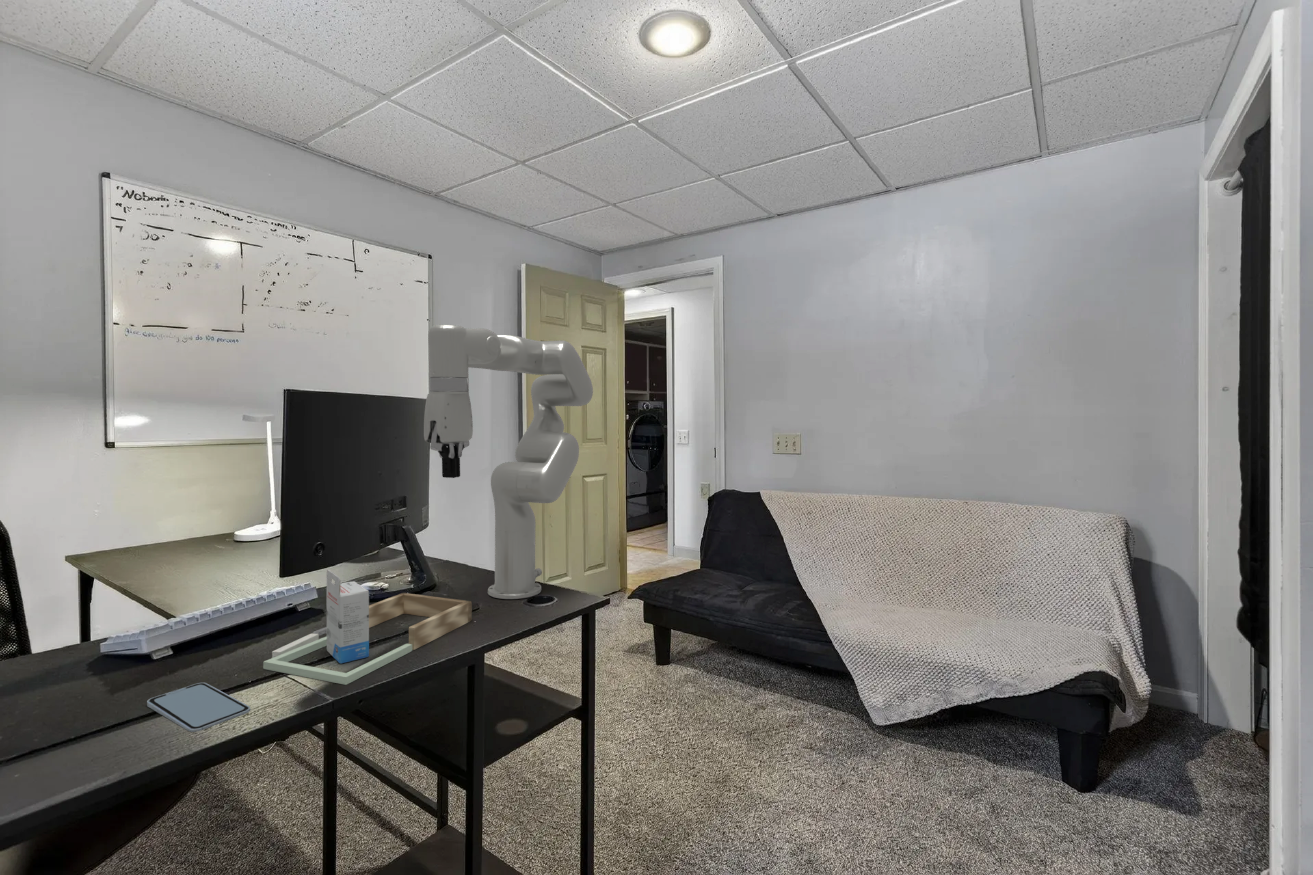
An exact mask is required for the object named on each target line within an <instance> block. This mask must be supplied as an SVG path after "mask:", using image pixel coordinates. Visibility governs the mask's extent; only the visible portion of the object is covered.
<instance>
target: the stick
mask: <svg viewBox="0 0 1313 875" xmlns="http://www.w3.org/2000/svg"><path fill="white" fill-rule="evenodd" d="M319 639H320V636H319V634H313V632H312V633H309V634H307V635H305V636H303V637H300V638H299V639H298V638H297V639H296V640H294V641H291V642H290V643H288V644H286V645H283V646H281V647H279V648H277V649H275V650H273V651H271V658H274V657H276V656H279V655H281V654H284V653H286V652H289V651H291V650H294V649H296V648H299V647H301V646H304V645H306V644H309V643H311V642H314V641H316V640H319Z"/></svg>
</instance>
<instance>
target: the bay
mask: <svg viewBox="0 0 1313 875" xmlns="http://www.w3.org/2000/svg"><path fill="white" fill-rule="evenodd" d="M325 647H327V635H326V636H324V637H321V638H319V640H316V641H314V642H311V643H309V644H306V645H304V646H301V647H299V648H296V649H294V650H291V651H289V652H286V653H284V654H281V655H279V656H276V657H274V658H272V657H271V658H269V659H267V660H264V661H262V662H263V663H262V666H263V668H262V669H263V670H267V671H273V672H277V673H284V674H289V675H293V676H298V677H304V678H310V679H314V680H318V681H324V682H330V683H334V684H335V683H336V684H340V685H345V686H347V685H349V684H350V683H352V682H355V681H356V680H358V679H360V678H363V677H364V676H366V675H368V674H371V673H372V672H374V671H376V670H377V669H378V670H379V669H380V668H381V667H383V666H386V665H388V664H389V663H391V662H394V661H395V660H397V659H400V658H401V657H403V656H405V655H407V654H409V653H412V652H413V650H412V644H409V643H405V644H402V645H401V646H399V647H397V648H394V649H392V650H391V651H388V652H387V653H384V654H382V655H381V656H379V657H376V658H374V659H372V660H369V661H368V662H366V663H364V664H362V665H360V666H358V667H356V668H354V669H352V670H350V671H348V672H342V671H338V670H331V669H325V668H321V667H315V666H312V665H311V666H310V665H305V664H298V663H293V662H291V661H293V660H296V659H298V658H301V657H302V656H305V655H308V654H310V653H312V652H315V651H317V650H320V649H322V648H325Z"/></svg>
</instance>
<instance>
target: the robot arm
mask: <svg viewBox="0 0 1313 875" xmlns="http://www.w3.org/2000/svg"><path fill="white" fill-rule="evenodd" d="M427 335H428V337H427V338H428V339H427V340H428V371H429V372H428V374H429V375H428V377H429V381H428V382H429V393H427V395H426V400H425V407H424V413H423V414H424V415H423V416H424V417H423V419H424V420H423V438H424V441H425V443H428V444H430V447H429V448H430V450H432V451H437V452H438V454H439V457H440V459H441V474H442V475H441V476H442V478H447V479H448V478H449V479H450V478H451V479H455V478H460V477H461V458H462V456H463V450H464V449H465V448H467V447H469V446H470V441H471V439H473V432H474V429H473V428H474V427H473V426H474V425H473V424H474V423H473V410H472V404H471V397H470V392H469V391H470V390H469V389H470V385H469V384H470V383H469V382H470V380H469V368H471V369H473V368H474V369H482V370H483V369H484V370H490V371H497V372H499V371H500V372H512V373H513V372H514V373H521V374H525V375H526V374H528V375H535V376H538V377H537V378H535V379H534V380H533V382H532V384H531V387H530V388H531V389H530V396H531V402H532V409H533V410H532V411H533V418H532V420H531V423H530V424H529V426H528V427H527V428H526V431H525V432H524V434H523V435H522V437H521V438H520V440H519V442H518V444H517V445H516V449H515V455H514V456H515V459H516V461H505V462H502V463H500V464H498V465H497V466H496V467H495V468H494V470H493V471H492V473H491V476H490V487H491V493H492V498H493V503H494V505H493V506H494V584H491V585H490V586H488V589H487V594H488V596H490V597H492V598H496V599H500V600H501V599H502V600H518V599H526V598H531V597H534V596H537V595H538V594H540V593H541V592H542V585H541V584H540V583H538V582H536V578H538V577H540V576H541V575H542V574H543V571H542V569H541V568H539V567H537V568H536V525H537V524H536V516H535V513H534V510H533V508H532V506H531V505H530V503H531V504H532V503H533V504H534V503H535V504H550V503H554V502H556V501H557V500H558V499H559V498H560V496H561V495H562V493H563V492H564V490H565V488H566V486H567V484H568V483H569V480H570V478H571V476H572V474H573V473H574V471H575V468H576V466H577V464H578V461H579V455H580V446H579V442H578V440H577V438H576V437H575V436H574V435H572V433H569V432H564V431H565V430H564V429H565V424H564V420H563V419H562V417H561V415H560V414H559V412H558V411H557V409H556V408H557V407H582V406H585V405H587V404H589V403H590V402H591V400H592V399H593V395H594V394H593V393H594V388H593V384H592V379H591V378H590V375H589V373H588V371H587V369H586V367H585V365H584V362H583V361H582V358H581V357H580V355H579V353H578V351H577V350H576V348H575V347H574V346H573V345H572V344H571V343H570V342H569V341H566V340H545V341H544V340H535V339H532V338H531V339H530V338H526V337H522V336H518V335H512V334H511V335H510V334H496V333H495V332H494V331H492V330H490V329H489V328H488V329H487V328H479V327H478V328H469V327H468V328H467V327H463V326H461V325H456V324H435V325H432V326H431V327H430V328H429V329H428V334H427ZM535 582H536V583H535Z"/></svg>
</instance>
